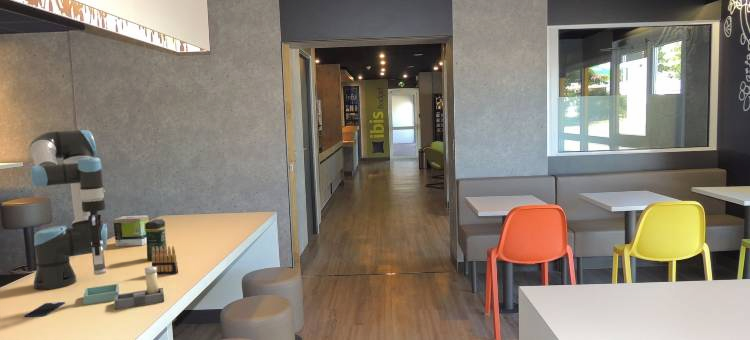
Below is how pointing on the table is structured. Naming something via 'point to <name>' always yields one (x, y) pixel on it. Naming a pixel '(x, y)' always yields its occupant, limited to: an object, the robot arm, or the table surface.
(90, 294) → the parts tray
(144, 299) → the block
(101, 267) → the fuse
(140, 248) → the table surface
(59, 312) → the table surface
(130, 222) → the tea box
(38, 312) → the cell phone
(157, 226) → the coffee jar
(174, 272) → the ammunition clip
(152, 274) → the white rounded cylinder
